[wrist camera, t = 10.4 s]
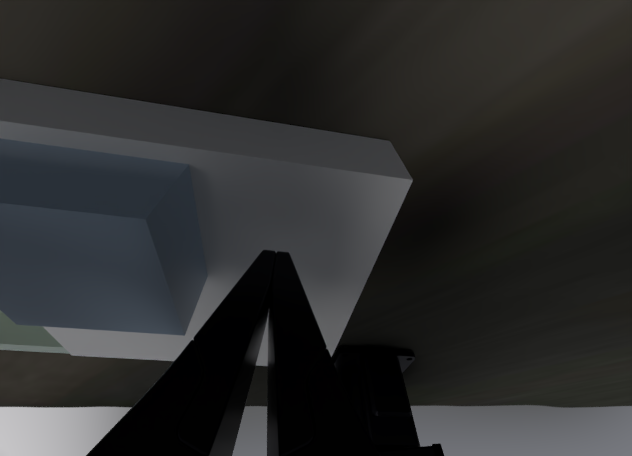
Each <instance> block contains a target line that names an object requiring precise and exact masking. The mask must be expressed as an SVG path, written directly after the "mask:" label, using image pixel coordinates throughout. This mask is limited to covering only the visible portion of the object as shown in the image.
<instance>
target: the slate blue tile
mask: <svg viewBox="0 0 632 456" xmlns="http://www.w3.org/2000/svg"><path fill="white" fill-rule="evenodd" d="M207 277H208V274H207V268H206V262H205V256H204V250H203V245H202V239H201V233H200V227H199V221H198V215H197V209H196V203H195V197H194V191H193V185H192V179H191V173H190V167H189V164H183V163H176V162H169V161H161V160H154V159H147V158H140V157H132V156H125V155H118V154H110V153H103V152H96V151H88V150H81V149H74V148H67V147H59V146H52V145H45V144H37V143H30V142H23V141H15V140H8V139H1V138H0V310H1V311H2V312H3V313H4V314H5V315H6V316H7V317H9V318H10V319H11V320H12V321H13V322H14V323H15V324H16V325H28V326H44V327H59V328H75V329H90V330H105V331H121V332H136V333H152V334H167V335H183V336H185V334H186V331H187V329H188V326H189V323H190V321H191V318H192V316H193V313H194V311H195V308H196V305H197V303H198V300H199V298H200V295H201V293H202V290H203V287H204V285H205V282H206V280H207Z"/></svg>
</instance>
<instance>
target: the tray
mask: <svg viewBox="0 0 632 456" xmlns="http://www.w3.org/2000/svg"><path fill="white" fill-rule="evenodd" d="M0 350H16V351H34V352H52V353H69V352H68V351H67V350H66V349H65V348H64V347H63V346H62V345H61V344H60V343H59V342H58V341H57V340H56V339H55V338H54V337H53V336H52V335H51V334H50V333H49V332H48V331H47V330H46V329H45V328H44V327H42V326H28V325H16V324H15V323H14V322H13V321H12V320H11V319H10V318H9V317H7V316H6V315H5V314H4V313H3V312H2V311H1V310H0Z"/></svg>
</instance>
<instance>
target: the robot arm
mask: <svg viewBox="0 0 632 456" xmlns="http://www.w3.org/2000/svg"><path fill="white" fill-rule="evenodd" d="M268 313H269V316H268ZM267 319H268V391H267V456H444V454H443V450H442V447H441V444H433V445H432V446H427V447H420V444H419V440H418V436H417V432H416V428H415V424H414V420H413V415H412V411H411V408H410V403H409V399H408V395H407V391H406V387H405V383H404V379H403V375H402V373H403V372H404V371H405V370H406V368H407V367H408V366H409V365H410V364H411V363H412V362H413V361H414V360H415V359H416V358H415V355H414V353H413V352H409V351H393V350H377V349H362V348H346V347H345V348H340V349H339V350H338V352H337V354H336V356H335V358H334V360H333V361H332V358H331V355H330V353H329V350H328V349H326V348H327V346H326V343H325V341H324V338H323V336H322V333H321V331H320V328H319V326H318V323H317V321H316V318H315V316H314V313H313V311H312V308H311V306H310V303H309V300H308V298H307V295H306V293H305V290H304V288H303V285H302V283H301V280H300V278H299V275H298V273H297V270H296V268H295V265H294V263H293V260H292V258H291V255H290V253H289V252H282V251H277V252H275V251H273V250H263V251H262V252H261V253H260V254H259V255H258V257H257V258H256V259H255V260H254V262H253V263H252V264H251V265H250V267H249V268H248V269H247V270H246V272H245V273H244V274H243V275H242V277H241V278H240V279H239V281H238V282H237V283H236V284H235V286H234V287H233V288H232V289H231V291H230V292H229V293H228V294H227V296H226V297H225V298H224V300H223V301H222V302H221V303H220V305H219V306H218V307H217V308H216V310H215V311H214V312H213V313H212V315H211V316H210V317H209V318H208V320H207V321H206V322H205V324H204V325H203V326H202V327H201V329H200V330H199V331H198V332H197V334H196V335H195V336H194V338H193V339H194V340H191V341H190V342H189V344H188V345H187V346H186V347H185V349H184V350H183V351H182V352H181V354H180V355H179V356H178V357H177V358H176V360H175V361H174V362H173V363H172V364H171V366H170V367H169V368H168V369H167V370H166V372H165V373H164V374H163V375H162V376H161V377H160V378H159V379H158V380H157V382H156V383H155V384H154V385H153V386H152V387H151V388H150V389H149V390H148V391H147V392H146V394H145V395H144V396H143V397H142V398H141V399H140V400H139V401H138V402H137V403H136V404H135V405H134V406H133V407H132V408H131V409H130V410H129V411H128V412H127V414H126V415H125V416H124V417H123V418H122V419H121V420H120V421H119V422H118V423H117V424H116V425H115V426H114V427H113V428H112V429H111V430H110V431H109V432H108V433H107V434H106V435H105V436H104V438H103V439H102V440H101V441H100V442H99V443H98V444H97V445H96V446H95V447H94V448H93V449H92V450H91V451H90V452H89V453H88V454H87V455H86V456H232V453H233V450H234V446H235V442H236V438H237V434H238V430H239V427H240V423H241V419H242V415H243V412H244V408H245V404H246V400H247V396H248V392H249V389H250V385H251V381H252V377H253V373H254V369H255V366H256V362H257V358H258V354H259V350H260V346H261V343H262V339H263V335H264V331H265V327H266V323H267Z"/></svg>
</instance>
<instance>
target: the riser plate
mask: <svg viewBox="0 0 632 456" xmlns="http://www.w3.org/2000/svg"><path fill="white" fill-rule="evenodd" d="M0 138H1V139H8V140H15V141H23V142H30V143H37V144H45V145H52V146H59V147H67V148H74V149H81V150H88V151H96V152H103V153H110V154H118V155H125V156H132V157H140V158H147V159H154V160H161V161H169V162H176V163H183V164H189V167H190V173H191V179H192V185H193V191H194V197H195V203H196V209H197V215H198V221H199V227H200V233H201V239H202V245H203V250H204V256H205V262H206V268H207V274H208V277H207V280H206V282H205V285H204V287H203V290H202V293H201V295H200V298H199V300H198V303H197V305H196V308H195V311H194V313H193V316H192V318H191V321H190V323H189V326H188V329H187V331H186V334H185V336H183V335H167V334H152V333H136V332H121V331H105V330H90V329H75V328H59V327H44V326H42V327H44V328H45V329H46V330H47V331H48V332H49V333H50V334H51V335H52V336H53V337H54V338H55V339H56V340H57V341H58V342H59V343H60V344H61V345H62V346H63V347H64V348H65V349H66V350H67V351H68V352H69V353H70V354H71V355H72V356H91V357H109V358H128V359H146V360H165V361H175V360H176V358H177V357H178V356H179V355H180V354H181V352H182V351H183V350H184V349H185V347H186V346H187V345H188V344H189V342H190V341H191V340H194V339H193V338H194V336H195V335H196V334H197V332H198V331H199V330H200V329H201V327H202V326H203V325H204V324H205V322H206V321H207V320H208V318H209V317H210V316H211V315H212V313H213V312H214V311H215V310H216V308H217V307H218V306H219V305H220V303H221V302H222V301H223V300H224V298H225V297H226V296H227V294H228V293H229V292H230V291H231V289H232V288H233V287H234V286H235V284H236V283H237V282H238V281H239V279H240V278H241V277H242V275H243V274H244V273H245V272H246V270H247V269H248V268H249V267H250V265H251V264H252V263H253V262H254V260H255V259H256V258H257V257H258V255H259V254H260V253H261V252H262V251H263V250H273V251H275V252H277V251H282V252H289V253H290V255H291V258H292V260H293V263H294V265H295V268H296V270H297V273H298V275H299V278H300V280H301V283H302V285H303V288H304V290H305V293H306V295H307V298H308V300H309V303H310V306H311V308H312V311H313V313H314V316H315V318H316V321H317V323H318V326H319V328H320V331H321V333H322V336H323V338H324V341H325V343H326V346H327V348H326V349H328V350H329V353H330V355H331V357H332V355H333V353H334V351H335V349H336V347H337V344H338V342H339V340H340V338H341V336H342V334H343V331H344V329H345V327H346V325H347V323H348V320H349V318H350V316H351V314H352V312H353V310H354V307H355V305H356V303H357V301H358V299H359V297H360V294H361V292H362V290H363V288H364V286H365V283H366V281H367V279H368V277H369V275H370V273H371V270H372V268H373V266H374V264H375V262H376V260H377V257H378V255H379V253H380V251H381V249H382V247H383V244H384V242H385V240H386V238H387V236H388V233H389V231H390V229H391V227H392V225H393V223H394V220H395V218H396V216H397V214H398V212H399V210H400V207H401V205H402V203H403V201H404V199H405V196H406V194H407V192H408V190H409V188H410V186H411V183H412V181H413V179H412V177H411V176H410V174H409V172H408V171H407V169H406V167H405V166H404V164H403V162H402V160H401V159H400V157H399V155H398V154H397V152H396V150H395V149H394V147H393V145H392V144H391V142H390V141H387V140H381V139H375V138H369V137H363V136H356V135H350V134H344V133H338V132H331V131H325V130H319V129H313V128H306V127H300V126H294V125H288V124H281V123H275V122H269V121H263V120H256V119H250V118H244V117H238V116H232V115H225V114H219V113H213V112H207V111H200V110H194V109H188V108H182V107H175V106H169V105H163V104H157V103H150V102H144V101H138V100H132V99H126V98H119V97H113V96H107V95H101V94H94V93H88V92H82V91H76V90H69V89H63V88H57V87H51V86H44V85H38V84H32V83H26V82H19V81H13V80H7V79H1V78H0ZM268 316H269V313H268ZM256 365H258V366H268V319H267V323H266V327H265V331H264V335H263V339H262V343H261V346H260V350H259V354H258V358H257V362H256Z"/></svg>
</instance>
